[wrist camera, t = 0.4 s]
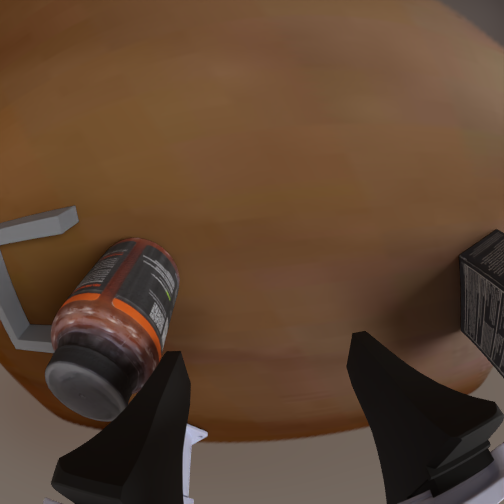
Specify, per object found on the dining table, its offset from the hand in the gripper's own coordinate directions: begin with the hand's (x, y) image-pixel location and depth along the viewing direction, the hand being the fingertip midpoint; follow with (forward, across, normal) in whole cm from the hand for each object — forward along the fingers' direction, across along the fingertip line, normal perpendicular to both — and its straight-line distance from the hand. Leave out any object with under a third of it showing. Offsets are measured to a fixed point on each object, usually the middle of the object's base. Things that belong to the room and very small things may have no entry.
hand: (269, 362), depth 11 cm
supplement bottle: (+10, +8, 0) cm, 12 cm away
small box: (+10, -23, +5) cm, 26 cm away
